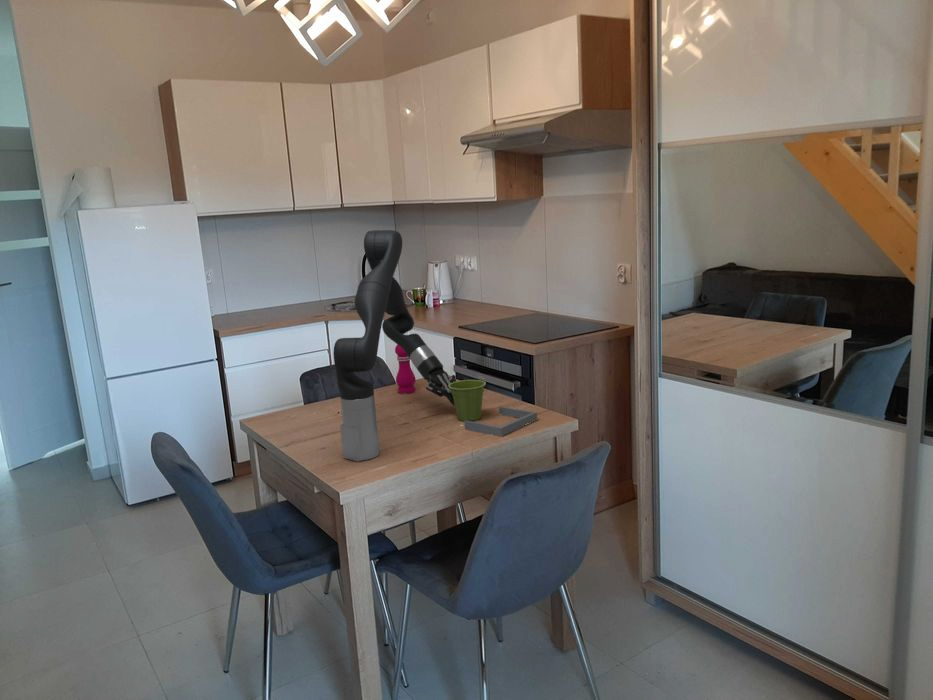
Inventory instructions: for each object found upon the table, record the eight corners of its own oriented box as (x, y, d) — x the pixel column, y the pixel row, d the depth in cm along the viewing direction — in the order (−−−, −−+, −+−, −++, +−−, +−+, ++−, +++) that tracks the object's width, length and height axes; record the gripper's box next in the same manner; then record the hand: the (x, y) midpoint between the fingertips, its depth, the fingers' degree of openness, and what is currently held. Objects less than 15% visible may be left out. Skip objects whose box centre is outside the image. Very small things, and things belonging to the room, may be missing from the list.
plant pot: (493, 414, 230) (491, 380, 228) (479, 425, 219) (477, 389, 217) (459, 411, 235) (457, 378, 232) (444, 422, 224) (441, 388, 222)
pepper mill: (413, 394, 260) (409, 340, 256) (394, 394, 262) (389, 340, 258) (418, 389, 267) (414, 336, 263) (400, 389, 269) (395, 337, 265)
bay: (501, 436, 207) (501, 428, 207) (464, 429, 216) (464, 421, 216) (537, 420, 221) (536, 412, 220) (501, 413, 230) (500, 406, 229)
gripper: (417, 359, 227) (448, 401, 222) (445, 351, 237) (475, 391, 232) (406, 373, 232) (437, 415, 227) (434, 365, 242) (464, 404, 236)
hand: (456, 403), depth 229 cm, fingers closed
